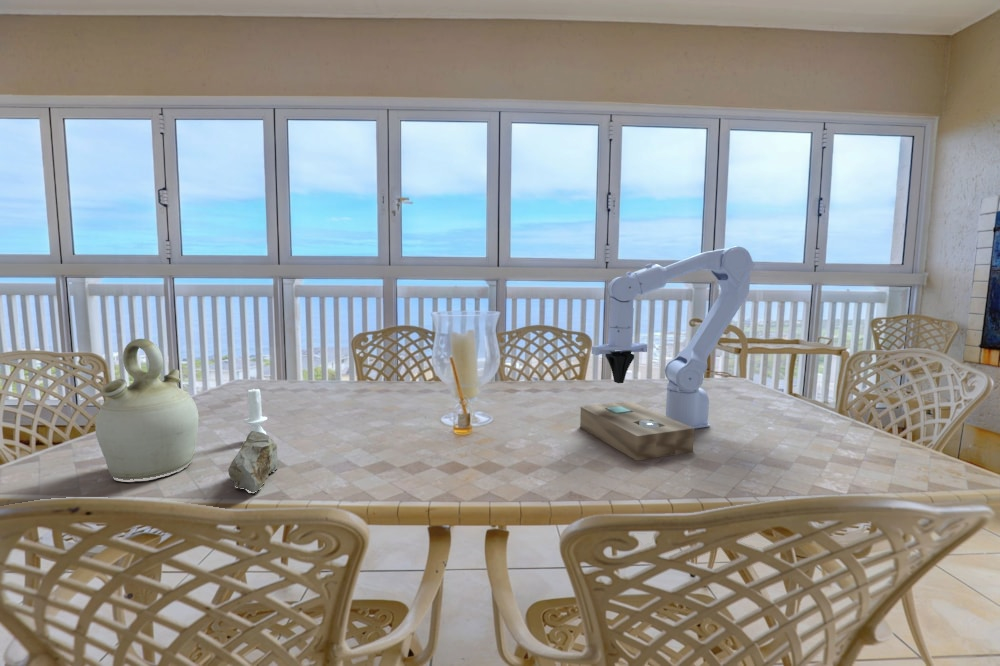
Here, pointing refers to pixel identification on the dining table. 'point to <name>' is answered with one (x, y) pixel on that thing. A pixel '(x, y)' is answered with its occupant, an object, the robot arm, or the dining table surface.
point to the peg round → (648, 424)
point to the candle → (255, 411)
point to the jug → (146, 419)
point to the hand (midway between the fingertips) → (618, 382)
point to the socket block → (637, 431)
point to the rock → (254, 462)
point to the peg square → (618, 410)
